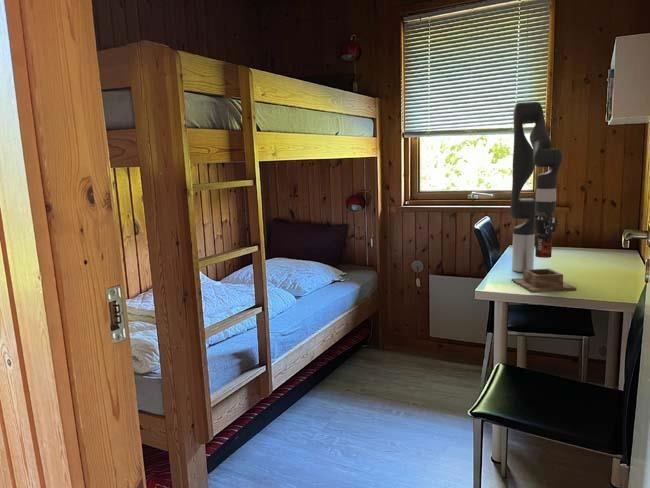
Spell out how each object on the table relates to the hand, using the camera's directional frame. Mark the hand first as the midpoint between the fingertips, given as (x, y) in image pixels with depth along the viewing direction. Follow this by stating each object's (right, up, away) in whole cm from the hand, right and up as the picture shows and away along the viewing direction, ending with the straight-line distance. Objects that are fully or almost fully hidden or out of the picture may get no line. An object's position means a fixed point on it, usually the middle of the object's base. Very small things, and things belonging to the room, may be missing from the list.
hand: (544, 241), depth 198 cm
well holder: (+1, -18, +3) cm, 18 cm away
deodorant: (0, -6, +1) cm, 6 cm away
